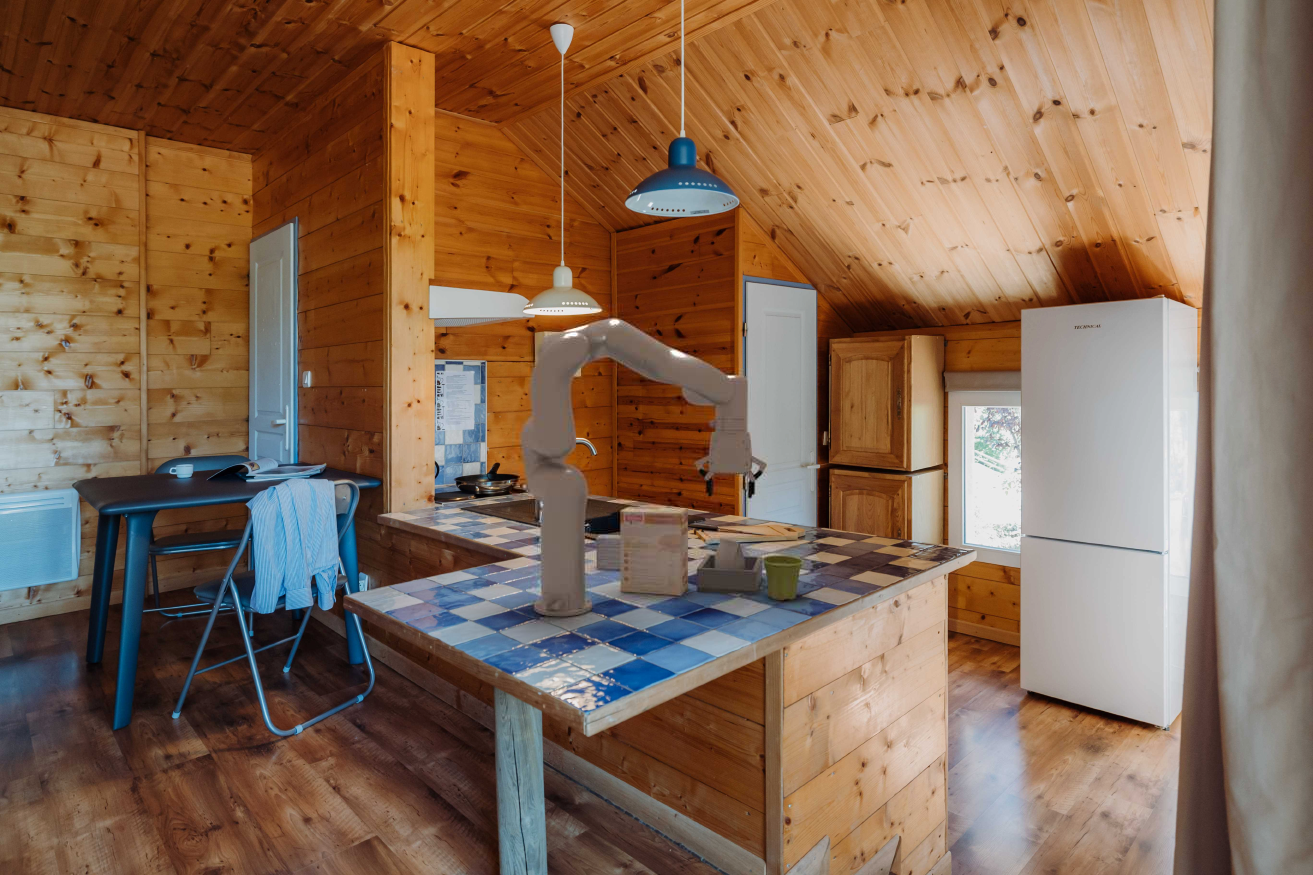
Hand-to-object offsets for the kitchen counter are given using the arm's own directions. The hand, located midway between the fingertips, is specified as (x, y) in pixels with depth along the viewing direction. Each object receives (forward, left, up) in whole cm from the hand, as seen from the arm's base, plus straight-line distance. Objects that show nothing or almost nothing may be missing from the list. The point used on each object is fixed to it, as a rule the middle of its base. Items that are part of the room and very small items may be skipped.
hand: (730, 496), depth 181 cm
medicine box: (+10, +33, -22) cm, 41 cm away
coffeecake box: (-9, +17, -22) cm, 29 cm away
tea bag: (0, 0, -21) cm, 21 cm away
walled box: (0, 0, -22) cm, 22 cm away
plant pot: (-8, -13, -22) cm, 27 cm away
